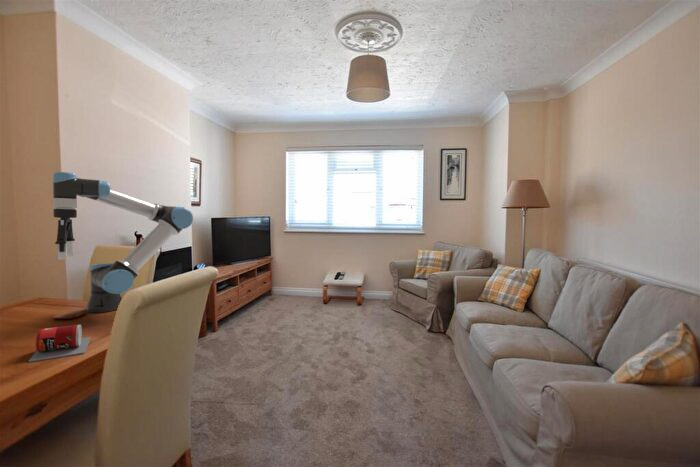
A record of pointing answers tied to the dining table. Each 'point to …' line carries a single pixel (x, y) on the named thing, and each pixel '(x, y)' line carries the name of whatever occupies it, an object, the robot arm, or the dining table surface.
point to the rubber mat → (61, 352)
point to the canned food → (58, 338)
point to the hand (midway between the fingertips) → (65, 257)
